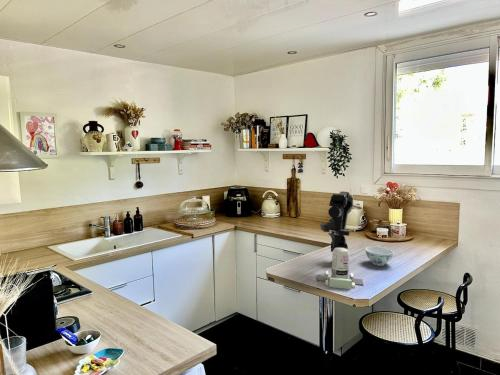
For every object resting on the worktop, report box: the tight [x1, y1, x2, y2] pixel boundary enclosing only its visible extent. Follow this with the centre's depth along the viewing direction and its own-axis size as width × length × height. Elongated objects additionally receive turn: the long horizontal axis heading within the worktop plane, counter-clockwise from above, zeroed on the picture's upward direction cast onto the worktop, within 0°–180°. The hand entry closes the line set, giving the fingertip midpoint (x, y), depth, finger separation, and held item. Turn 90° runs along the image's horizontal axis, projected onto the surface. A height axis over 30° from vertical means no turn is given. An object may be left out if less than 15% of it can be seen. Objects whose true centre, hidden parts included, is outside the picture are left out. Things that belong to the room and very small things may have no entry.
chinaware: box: [365, 246, 394, 266], centre depth 210 cm, size 15×15×8 cm
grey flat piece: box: [316, 270, 364, 290], centre depth 183 cm, size 18×22×4 cm
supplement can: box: [330, 248, 350, 279], centre depth 186 cm, size 8×8×15 cm
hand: (334, 247), depth 195 cm, fingers closed
